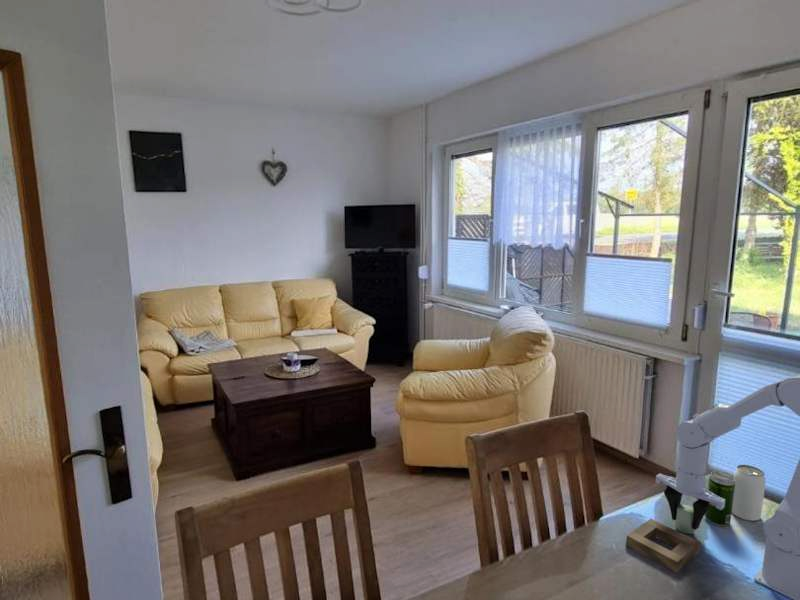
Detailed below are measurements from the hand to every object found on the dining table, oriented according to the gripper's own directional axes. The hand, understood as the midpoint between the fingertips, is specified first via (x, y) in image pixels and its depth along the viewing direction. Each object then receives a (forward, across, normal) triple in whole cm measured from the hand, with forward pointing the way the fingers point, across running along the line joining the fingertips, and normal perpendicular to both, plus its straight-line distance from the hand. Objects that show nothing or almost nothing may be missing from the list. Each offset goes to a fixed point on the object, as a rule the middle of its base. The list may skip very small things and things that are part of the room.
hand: (685, 522), depth 118 cm
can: (+2, -6, -20) cm, 21 cm away
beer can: (+2, -3, -11) cm, 12 cm away
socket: (+2, 0, +11) cm, 11 cm away
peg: (+1, 0, 0) cm, 1 cm away
